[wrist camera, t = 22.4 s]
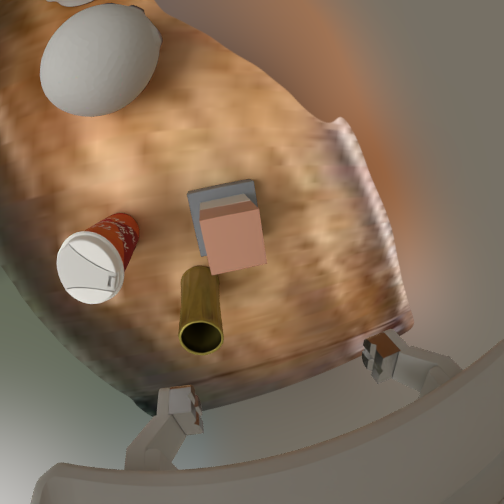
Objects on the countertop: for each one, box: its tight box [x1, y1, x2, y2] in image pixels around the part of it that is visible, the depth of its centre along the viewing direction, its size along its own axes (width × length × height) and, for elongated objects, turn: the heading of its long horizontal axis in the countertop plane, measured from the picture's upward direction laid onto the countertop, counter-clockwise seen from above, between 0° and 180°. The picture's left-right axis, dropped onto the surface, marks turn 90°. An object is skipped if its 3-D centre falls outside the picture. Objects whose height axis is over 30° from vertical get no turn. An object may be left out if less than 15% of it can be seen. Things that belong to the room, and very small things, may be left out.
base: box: [187, 179, 258, 257], centre depth 39 cm, size 9×9×3 cm
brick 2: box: [199, 200, 267, 275], centre depth 30 cm, size 6×6×5 cm
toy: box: [40, 3, 162, 117], centre depth 23 cm, size 15×15×15 cm
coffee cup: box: [57, 213, 139, 304], centre depth 31 cm, size 8×8×15 cm
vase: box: [178, 266, 224, 355], centre depth 37 cm, size 6×6×14 cm
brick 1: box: [200, 194, 250, 210], centre depth 35 cm, size 6×6×5 cm
